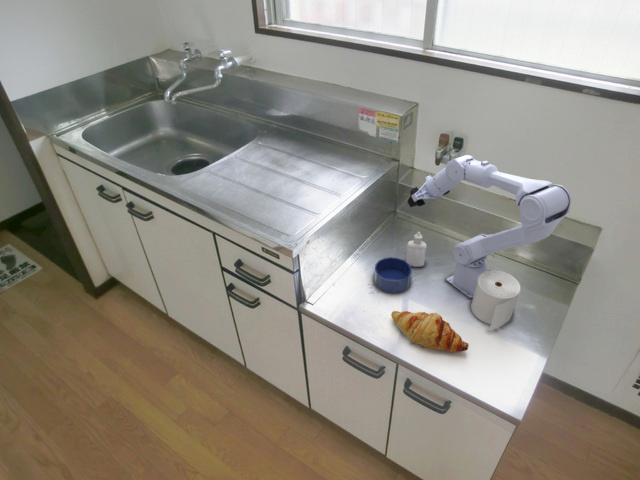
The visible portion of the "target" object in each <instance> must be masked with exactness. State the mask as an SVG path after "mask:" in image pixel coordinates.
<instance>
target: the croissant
mask: <svg viewBox="0 0 640 480" xmlns="http://www.w3.org/2000/svg"><path fill="white" fill-rule="evenodd" d="M390 317H391V319H392V321H393V322H394V323H395V325H396V327H397V328H398V330H400V332H401V333H402V334H404V336H405V337H407V338H408V339H409V340H410V341H411V342H412V343H413V344H417V345H420V346H422V347H424V348H427V349H430V350H439V351H446V352H451V353H460V352H465V351H467V350H469V346H470V345H469V343H468V342H466V341H464V340H463V339H462V336H461V335H460V334H459V333H457V332H456V331H455V330H454V329H453V328H452V327H451V324H450V323H449V322H448V321H445V320H444V319H443V317H442V316H441V314H440V313H438V312H430V313H428V312H426V311H417V312H411V311H409V310H403V311H399V310H393V311H391V314H390Z"/></svg>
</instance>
